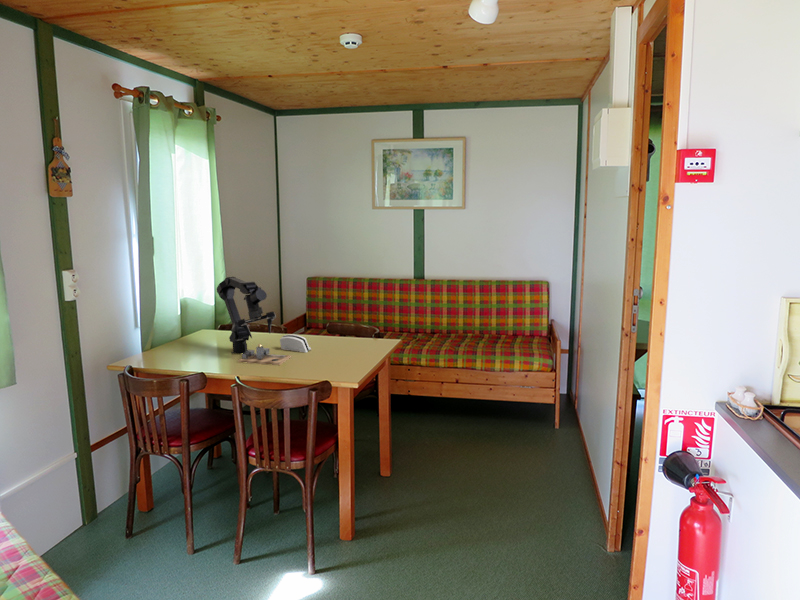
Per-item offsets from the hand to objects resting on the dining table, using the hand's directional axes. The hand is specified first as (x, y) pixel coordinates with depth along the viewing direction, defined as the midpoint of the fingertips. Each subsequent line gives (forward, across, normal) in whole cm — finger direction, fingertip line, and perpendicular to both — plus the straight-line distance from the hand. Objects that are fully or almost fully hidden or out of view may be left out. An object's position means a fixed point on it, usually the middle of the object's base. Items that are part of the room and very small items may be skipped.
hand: (260, 335), depth 281 cm
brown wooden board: (+12, -1, +4) cm, 13 cm away
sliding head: (+10, -2, +4) cm, 11 cm away
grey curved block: (+10, +13, +21) cm, 27 cm away
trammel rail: (+11, -1, +3) cm, 11 cm away
